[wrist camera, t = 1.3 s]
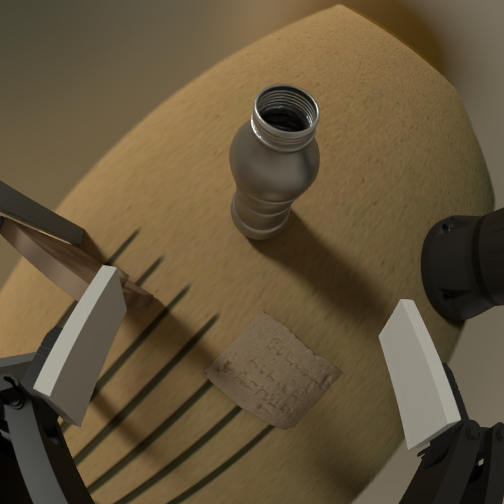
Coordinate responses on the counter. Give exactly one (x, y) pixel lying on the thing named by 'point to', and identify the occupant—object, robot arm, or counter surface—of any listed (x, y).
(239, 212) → the silver metal bottle
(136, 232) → the counter surface
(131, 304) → the door
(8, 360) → the door frame
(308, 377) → the clay tablet
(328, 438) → the counter surface
